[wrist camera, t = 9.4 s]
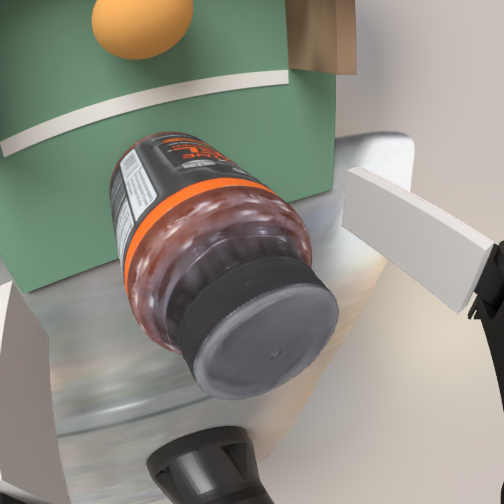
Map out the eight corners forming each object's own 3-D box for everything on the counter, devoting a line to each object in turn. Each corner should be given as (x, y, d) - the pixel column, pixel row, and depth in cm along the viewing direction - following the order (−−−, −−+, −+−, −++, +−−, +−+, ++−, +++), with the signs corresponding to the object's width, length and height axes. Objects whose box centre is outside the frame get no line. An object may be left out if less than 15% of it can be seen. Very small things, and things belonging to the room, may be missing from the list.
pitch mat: (328, 187, 21) (332, 189, 21) (23, 289, 15) (23, 295, 14) (317, -108, 8) (322, -110, 8) (-52, -61, 1) (-55, -64, 1)
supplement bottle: (234, 146, 16) (403, 263, 8) (195, 241, 18) (303, 402, 10) (127, 114, 13) (210, 222, 4) (95, 226, 15) (136, 433, 7)
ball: (192, -51, 7) (187, 14, 11) (91, -35, 7) (104, 27, 10) (201, -2, 7) (195, 71, 11) (74, 19, 6) (98, 87, 10)
